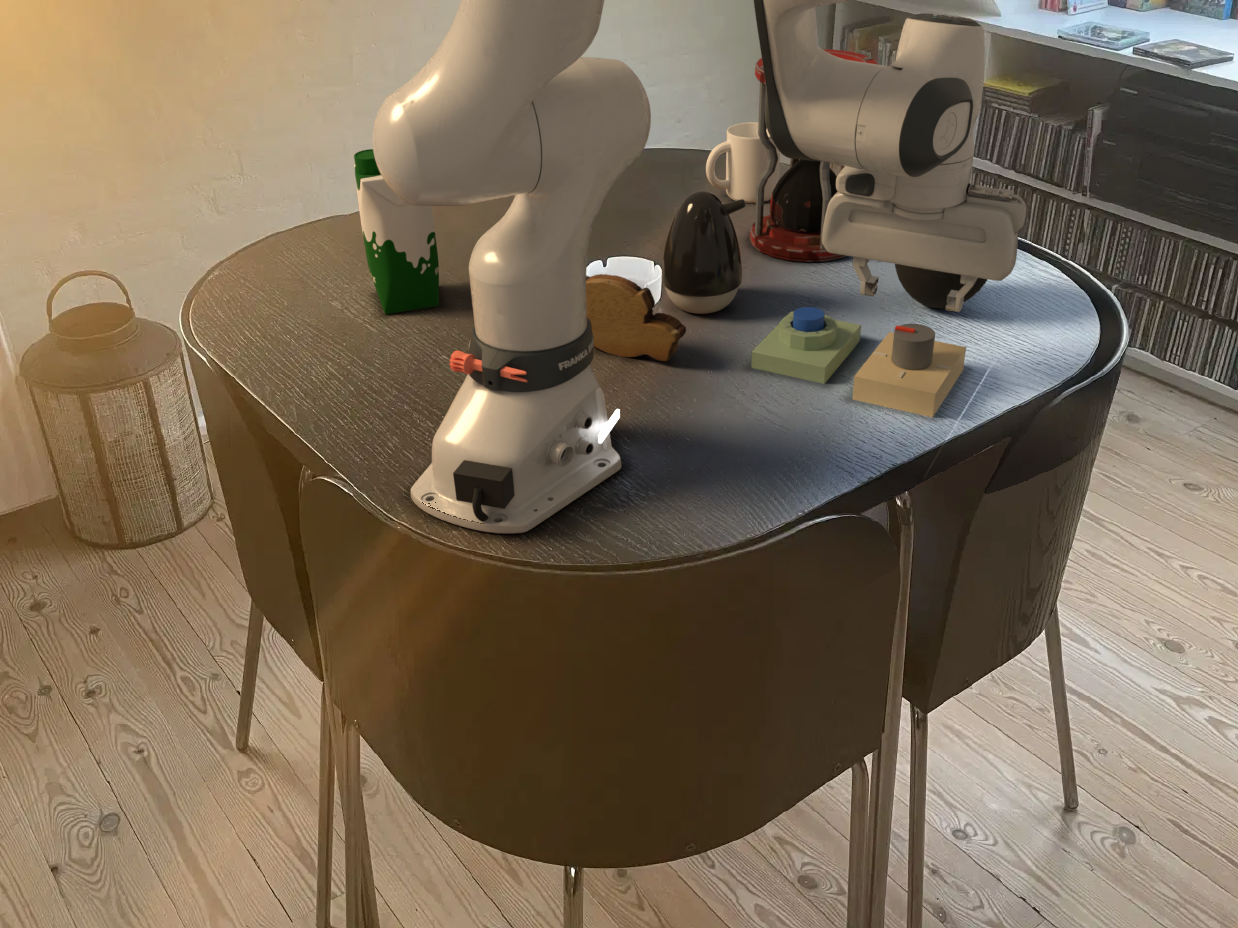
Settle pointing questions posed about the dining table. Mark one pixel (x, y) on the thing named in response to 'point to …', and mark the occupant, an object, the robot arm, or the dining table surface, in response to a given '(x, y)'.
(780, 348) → the button housing
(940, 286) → the decorative egg
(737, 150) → the mug
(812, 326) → the button
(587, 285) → the wooden carving
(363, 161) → the milk carton
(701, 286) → the pump dispenser
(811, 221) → the hourglass
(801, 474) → the dining table surface
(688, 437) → the dining table surface
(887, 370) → the dial panel
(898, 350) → the dial
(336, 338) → the dining table surface
